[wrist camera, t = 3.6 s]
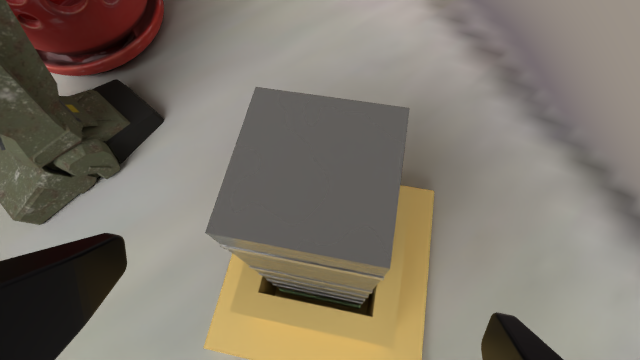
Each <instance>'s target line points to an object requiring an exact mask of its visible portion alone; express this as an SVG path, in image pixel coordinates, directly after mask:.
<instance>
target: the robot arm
mask: <svg viewBox="0 0 640 360" xmlns="http://www.w3.org/2000/svg"><path fill="white" fill-rule="evenodd" d="M126 267H127V258H126V250H125V242H124V239H123V237H121V236H120V235H115V234H110V233H103V234H99V235H96V236H92V237H88V238H84V239H81V240H77V241H73V242H70V243H66V244H62V245H59V246H55V247H51V248H47V249H44V250H40V251H36V252H33V253H29V254H25V255H21V256H18V257H14V258H10V259H7V260H3V261H0V360H55V359H56V358H57V357H58V355H59V354H60V353H61V352H62V351H63V350H64V349H65V348H66V346H67V345H68V344H69V343H70V342H71V341H72V340H73V339H74V337H75V336H76V335H77V334H78V333H79V332H80V330H81V329H82V328H83V327H84V326H85V324H86V323H87V322H88V321H89V319H90V318H91V317H92V315H93V314H94V313H95V311H96V310H97V309H98V307H99V306H100V305H101V303H102V302H103V301H104V299H105V298H106V296H107V295H108V294H109V292H110V291H111V290H112V288H113V287H114V286H115V284H116V283H117V282H118V280H119V279H120V278H121V276H122V275H123V273H124V272H125V270H126ZM481 350H482V358H483V360H563V359H562V358H561V357H560V356H559V355H558V354H557V353H556V352H554V351H553V350H552V349H551V348H550V347H549V346H548V345H547V344H545V343H544V342H543V341H542V340H541V339H540V338H539V337H538V336H536V335H535V334H534V333H533V332H532V331H531V330H530V329H529V328H527V327H526V326H525V325H524V324H523V323H522V322H521V321H520V320H518V319H517V318H516V317H515V316H512V315H508V314H503V313H498V312H496V313H494V314H493V315H492V316H491V318H490V321H489V323H488V326H487V328H486V331H485V334H484V336H483V339H482V344H481Z"/></svg>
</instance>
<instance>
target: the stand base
mask: <svg viewBox="0 0 640 360" xmlns="http://www.w3.org/2000/svg"><path fill="white" fill-rule="evenodd" d="M433 202H434V191H432V190H426V189H420V188H414V187H408V186H402V185H400V191H399V199H398V207H397V216H396V224H395V232H394V241H393V249H392V257H391V266H390V270H389V271H388V272H387V273H386V274H385V277H384V280H383V281H382V280H380V282H379V283H378V284H377V285H376V286H375V288H374V289H373V291H372V293H370V294H369V296H368V298H366V299H365V301H363V304H361V306H360V308H359V309H356V308H351V307H346V306H342V305H337V304H332V303H328V302H323V301H318V300H314V299H309V298H304V297H299V296H295V295H290V294H285V293H282V292H281V291H279V288H278V287H277V286H274V285H273V283H271V282H270V281H267V280H266V278H265V277H263V276H260V275H259V273H258V272H257V271H255V270H254V269H251V268H249V265H247V264H246V263H245V262H243V261H242V260H241V259H240V258H238V257H237V256H236V255H234V254H233V253H232V256H231V260H230V263H229V266H228V269H227V273H226V276H225V279H224V283H223V286H222V289H221V292H220V296H219V299H218V302H217V305H216V309H215V312H214V315H213V318H212V322H211V325H210V328H209V332H208V335H207V338H206V341H205V345H204V348H205V349H209V350H213V351H217V352H221V353H225V354H230V355H234V356H238V357H242V358H246V359H250V360H422V347H423V334H424V320H425V307H426V294H427V281H428V268H429V255H430V241H431V228H432V215H433Z"/></svg>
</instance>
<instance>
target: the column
mask: <svg viewBox="0 0 640 360" xmlns="http://www.w3.org/2000/svg"><path fill="white" fill-rule="evenodd" d="M408 116H409V108H405V107H398V106H391V105H384V104H376V103H369V102H362V101H354V100H347V99H340V98H333V97H325V96H318V95H311V94H303V93H296V92H289V91H281V90H274V89H267V88H260V87H256V88H255V91H254V94H253V96H252V99H251V102H250V105H249V108H248V111H247V114H246V117H245V120H244V122H243V125H242V128H241V131H240V134H239V137H238V140H237V143H236V146H235V148H234V151H233V154H232V157H231V160H230V163H229V166H228V169H227V171H226V174H225V177H224V180H223V183H222V186H221V189H220V192H219V195H218V197H217V200H216V203H215V206H214V209H213V212H212V215H211V218H210V221H209V223H208V226H207V229H206V232H205V233H206V234H208V235H209V236H210V237H212V238H213V239H214V240H216V241H217V242H218V243H220V244H221V245H220V246H221V247H222V248H224V249H228V250H229V251H230V252H232V253H233V254H234V255H236V256H237V257H238V258H240V259H241V260H242V261H243V262H245V263H246V264H247V265H249V268H251V269H254V270H255V271H257V272H258V273H259V275H260V276H263V277H265V278H266V280H267V281H270V282H271V283H273V285H274V286H277V287H278V288H279V291H281V292H282V293H285V294H290V295H295V296H299V297H304V298H309V299H314V300H318V301H323V302H328V303H332V304H337V305H342V306H346V307H351V308H356V309H359V308H360V306H361V304H363V301H365V299H366V298H368V296H369V294H370V293H372V291H373V289H374V288H375V286H376V285H377V284H378V283H379V282H380V280H382V281H383V280H384V277H385V274H386V273H387V272H388V271H389V270H390V266H391V257H392V249H393V241H394V232H395V224H396V216H397V207H398V199H399V191H400V182H401V174H402V166H403V157H404V149H405V141H406V132H407V124H408Z"/></svg>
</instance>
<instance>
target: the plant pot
mask: <svg viewBox="0 0 640 360" xmlns="http://www.w3.org/2000/svg"><path fill="white" fill-rule="evenodd" d="M6 1H7V3H8V5H9V6H10V8H11V10H12V11H13V13H14V15H15V16H16V18H17V20H18V21H19V23H20V25H21V27H22V28H23V30H24V32H25V33H26V35H27V37H28V38H29V40H30V42H31V43H32V45H33V46H34V48H35V50H36V51H37V53H38V54H39V56H40V58H41V59H42V61H43V62H44V64H45V65H46V67H47V69H48V70H49V72H51V73H55V74H61V75H70V76H82V75H91V74H97V73H101V72H105V71H108V70H111V69H114V68H116V67H118V66H121V65H123V64H125V63H127V62H128V61H130V60H132V59H133V58H135V57H136V56H137V55H139V54H140V53H141V52H142V51H143V50H144V49H145V48H146V47H147V46H148V45H149V44H150V43H151V42H152V40H153V39H154V37H155V36H156V34H157V32H158V30H159V28H160V26H161V23H162V19H163V14H164V4H163V0H6Z"/></svg>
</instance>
